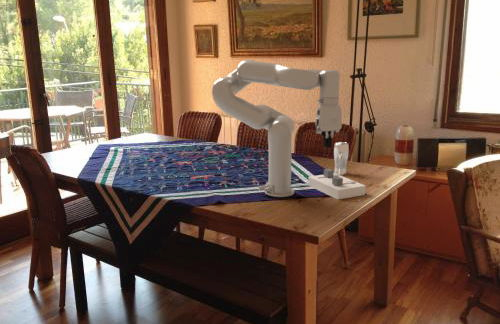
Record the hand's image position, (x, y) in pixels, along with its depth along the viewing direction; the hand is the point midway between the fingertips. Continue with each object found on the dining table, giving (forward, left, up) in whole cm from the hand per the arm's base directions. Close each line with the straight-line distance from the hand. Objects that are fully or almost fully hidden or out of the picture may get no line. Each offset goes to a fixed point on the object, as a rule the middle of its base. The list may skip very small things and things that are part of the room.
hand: (327, 146), depth 185 cm
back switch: (+10, +12, -17) cm, 23 cm away
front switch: (+6, 0, -17) cm, 18 cm away
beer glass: (+27, +26, -21) cm, 43 cm away
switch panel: (+9, +5, -21) cm, 23 cm away
